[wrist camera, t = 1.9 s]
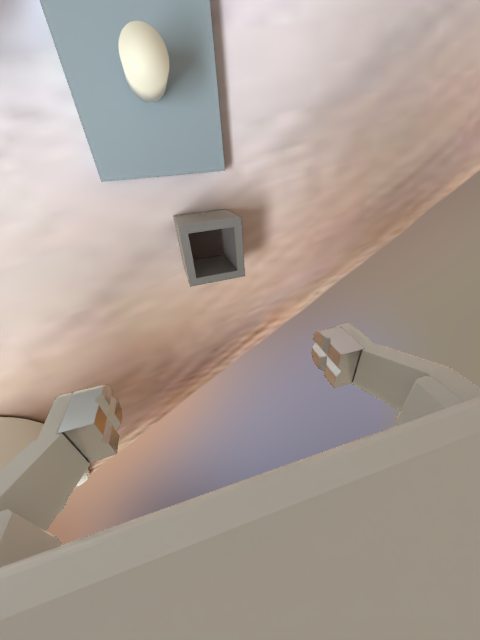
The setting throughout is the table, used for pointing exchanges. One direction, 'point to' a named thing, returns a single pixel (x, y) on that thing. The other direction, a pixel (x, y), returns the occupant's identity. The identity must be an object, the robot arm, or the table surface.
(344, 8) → the table surface
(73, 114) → the table surface
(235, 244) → the collar
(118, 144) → the base
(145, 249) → the table surface
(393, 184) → the table surface
